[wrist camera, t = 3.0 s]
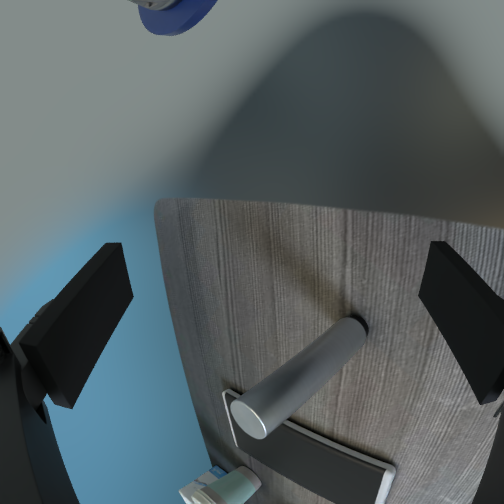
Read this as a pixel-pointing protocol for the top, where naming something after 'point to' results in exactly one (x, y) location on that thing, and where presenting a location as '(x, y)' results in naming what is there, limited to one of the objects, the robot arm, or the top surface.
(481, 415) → the top surface
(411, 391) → the top surface
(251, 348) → the top surface
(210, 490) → the coffee cup
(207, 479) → the ink box
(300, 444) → the smartphone
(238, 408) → the grey metal rod
